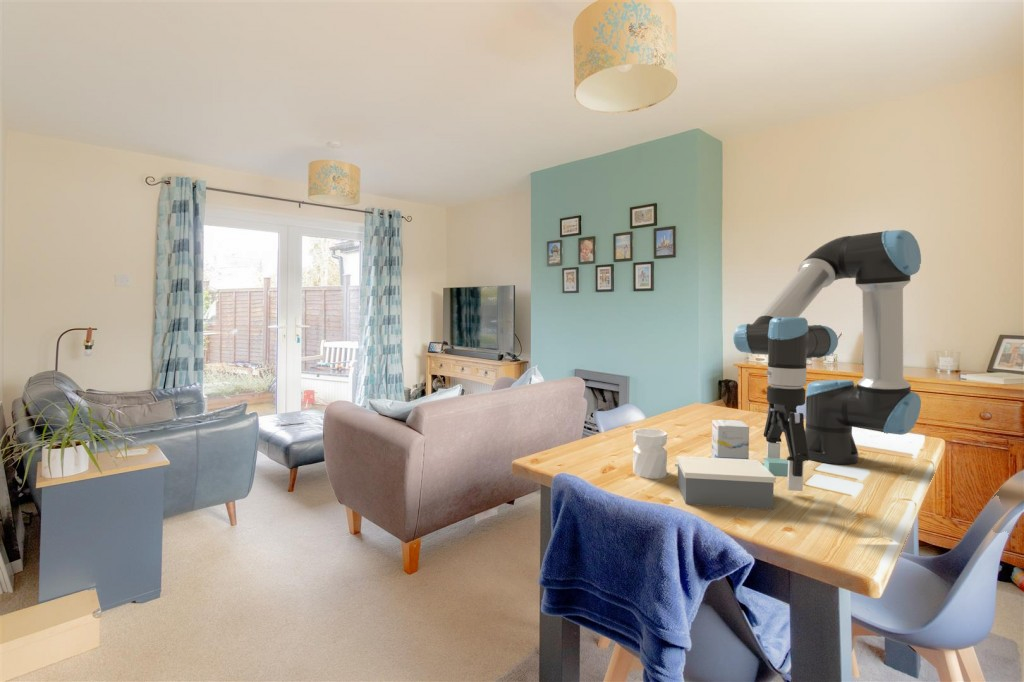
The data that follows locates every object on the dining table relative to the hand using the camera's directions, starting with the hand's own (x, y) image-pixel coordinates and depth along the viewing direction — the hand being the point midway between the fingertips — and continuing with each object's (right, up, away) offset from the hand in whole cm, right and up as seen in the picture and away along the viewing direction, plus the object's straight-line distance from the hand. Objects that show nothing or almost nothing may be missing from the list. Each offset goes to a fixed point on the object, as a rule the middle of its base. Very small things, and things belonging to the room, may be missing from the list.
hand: (783, 479), depth 109 cm
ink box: (+2, -4, +32) cm, 32 cm away
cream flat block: (-10, 0, +2) cm, 10 cm away
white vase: (-25, -5, +19) cm, 32 cm away
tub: (-13, -6, +3) cm, 14 cm away
